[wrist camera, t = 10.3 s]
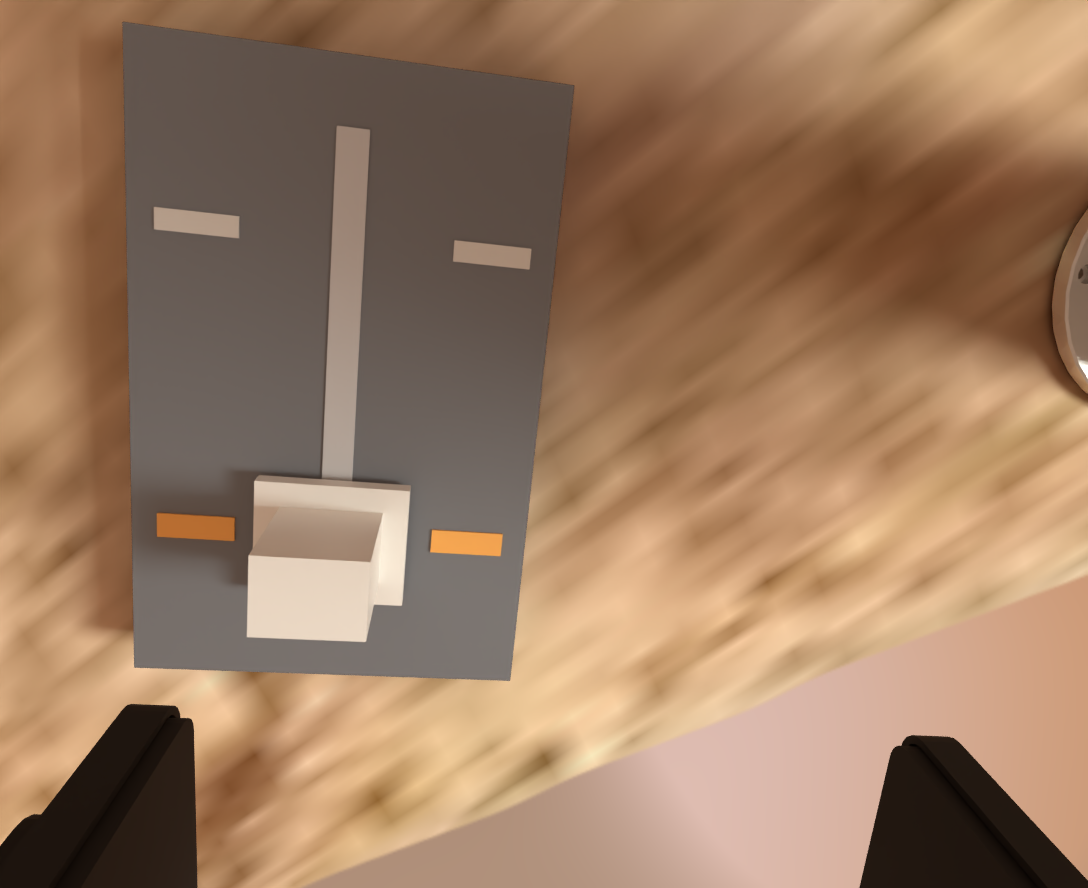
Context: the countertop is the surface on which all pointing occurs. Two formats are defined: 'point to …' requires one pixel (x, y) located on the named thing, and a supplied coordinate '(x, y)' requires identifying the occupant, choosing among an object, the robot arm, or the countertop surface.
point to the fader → (324, 556)
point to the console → (334, 333)
